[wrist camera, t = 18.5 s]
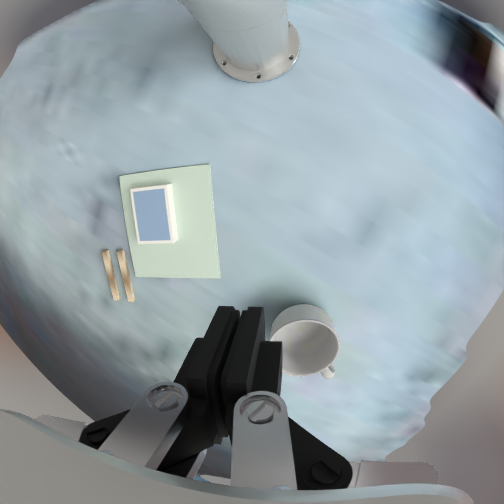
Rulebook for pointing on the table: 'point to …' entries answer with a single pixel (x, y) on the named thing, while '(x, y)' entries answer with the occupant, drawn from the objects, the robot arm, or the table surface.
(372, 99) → the table surface
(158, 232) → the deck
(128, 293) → the holder
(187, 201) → the mat
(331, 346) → the teacup
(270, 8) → the robot arm
